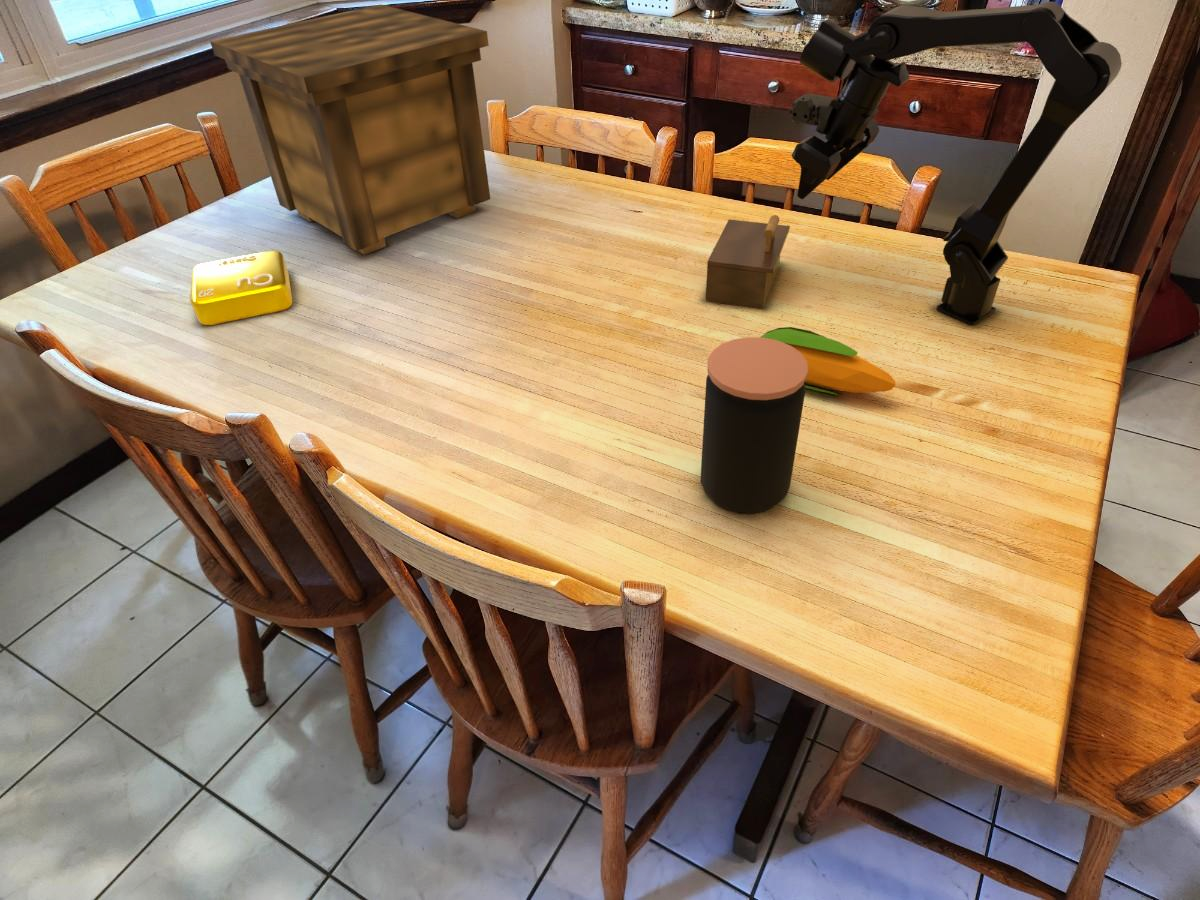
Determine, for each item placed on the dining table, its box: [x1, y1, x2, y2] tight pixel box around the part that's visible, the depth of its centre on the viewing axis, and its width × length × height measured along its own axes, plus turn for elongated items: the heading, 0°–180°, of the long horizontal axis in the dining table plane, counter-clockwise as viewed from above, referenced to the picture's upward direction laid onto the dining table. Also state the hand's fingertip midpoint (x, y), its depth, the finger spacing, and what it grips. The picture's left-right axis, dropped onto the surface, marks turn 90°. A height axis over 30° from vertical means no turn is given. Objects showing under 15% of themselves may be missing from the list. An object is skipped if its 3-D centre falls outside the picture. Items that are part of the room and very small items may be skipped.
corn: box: [759, 326, 897, 396], centre depth 109 cm, size 7×8×20 cm
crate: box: [209, 4, 491, 256], centre depth 150 cm, size 35×35×33 cm
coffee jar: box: [699, 336, 808, 515], centre depth 90 cm, size 11×11×18 cm
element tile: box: [189, 250, 293, 326], centre depth 135 cm, size 15×15×5 cm
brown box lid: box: [706, 214, 791, 273], centre depth 128 cm, size 10×16×5 cm
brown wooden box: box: [705, 256, 781, 310], centre depth 132 cm, size 9×16×6 cm, turn 161°
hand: (813, 187), depth 129 cm, fingers open, 9 cm apart
